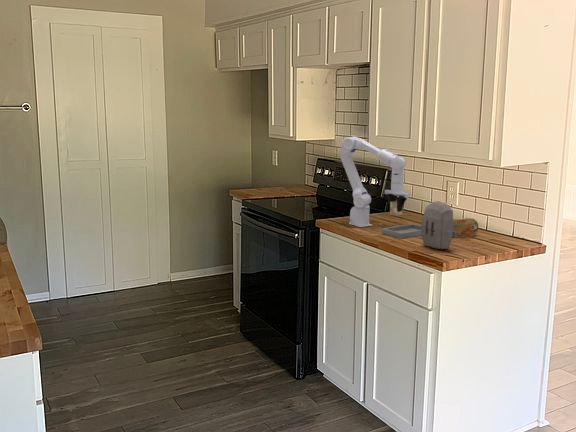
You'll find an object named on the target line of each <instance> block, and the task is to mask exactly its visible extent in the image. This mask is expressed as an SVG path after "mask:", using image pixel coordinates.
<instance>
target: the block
mask: <svg viewBox="0 0 576 432" xmlns="http://www.w3.org/2000/svg"><path fill="white" fill-rule="evenodd" d="M389 214H390V215H393V216H402V215H403V210H402V211H401V212H398V211H397V200H396V201H393V202H391V203H390V204H389Z"/></svg>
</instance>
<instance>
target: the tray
mask: <svg viewBox="0 0 576 432" xmlns="http://www.w3.org/2000/svg"><path fill="white" fill-rule="evenodd" d="M381 233H382V234H381V235H386V236H388V237H392V238H396V239H398V240H399V239H400V240H402V239H409V238H414V237H419V236H421V237H422V234H421V224H420V225H419V224H415V223H409V224H404V225H396V226H390V227H389V226H388V227H383V228H382V230H381Z"/></svg>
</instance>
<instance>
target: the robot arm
mask: <svg viewBox="0 0 576 432" xmlns="http://www.w3.org/2000/svg"><path fill="white" fill-rule="evenodd" d="M340 148H341V149H340V154H339V155H340V160H341V163H342V166H343V168H344V170H345V173H346V176H347V179H348V180H349V184H350V186H351V189H352V198H353V205H354V206H352V207H351V209H350V212H349V222H348V225H350V226H351V225H352V226H355V227H359V228H366V227H372V226H373V224H371V223H370V204H371V203H372V196H371V194H369V193H368V190H367V189H366V188H365V187H364V185H363V183H362V180H361V178H360V176H359V172H358V169H357V167H356V164H355V162H354V159H353V156H354V153H355V152H356V151H357V150H358V149H359V150H364V151H366V152H368V153H371V154H372V155H375V156H376V157H377V159H378V161H380V162H381V163H384V164H385V165H388V166H389V167H390V168H391V181H390V189H384V195H386V199H387V201H388V203H389V205H390V203H391V202H393V201H397V211H398V212H401V211H402V212H403V207H404V205H405V203H406V201H407V200H408V199H409V198H410V193H408V192H405V190H404V179H405V178H404V177H405V166H406V160H405V158H404V157H402V156H398V154H394V153H392V152H391V151H390V150H389V149H388V148H386V149H385V148H382V149H380V148H378V147H377V146H375V145H373V144H371V143H370V142H368V141H366V140H364V139H363V138H360V137H358V136H356V135H353V136H350V137H349V136H346V137H345V138H343V139H342V141H341V144H340Z"/></svg>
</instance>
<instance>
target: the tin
mask: <svg viewBox="0 0 576 432" xmlns="http://www.w3.org/2000/svg"><path fill="white" fill-rule="evenodd" d="M478 230H479V223H478V221H477V220H476V219H474V218H467V217H466V218H453V234H452V238H470V237H474V236H475V235H476V234H478V233H477V232H478Z"/></svg>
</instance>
